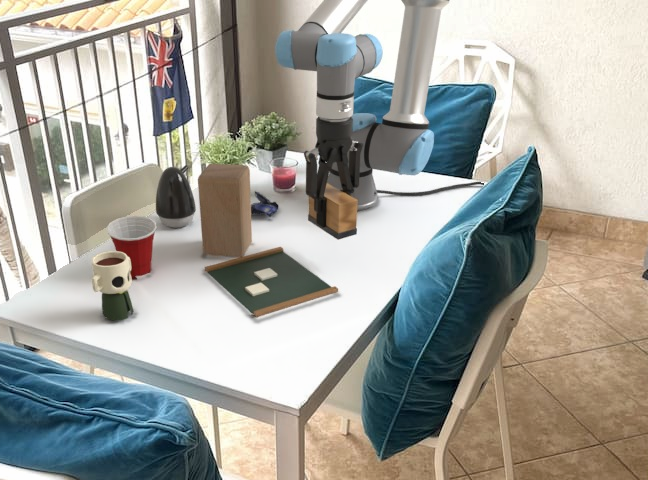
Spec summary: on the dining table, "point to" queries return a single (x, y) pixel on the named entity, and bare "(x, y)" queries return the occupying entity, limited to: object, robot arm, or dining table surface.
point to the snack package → (263, 206)
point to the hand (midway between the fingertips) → (331, 221)
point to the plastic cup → (134, 241)
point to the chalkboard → (269, 281)
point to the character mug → (113, 283)
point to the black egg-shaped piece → (175, 198)
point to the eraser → (337, 213)
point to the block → (225, 209)
